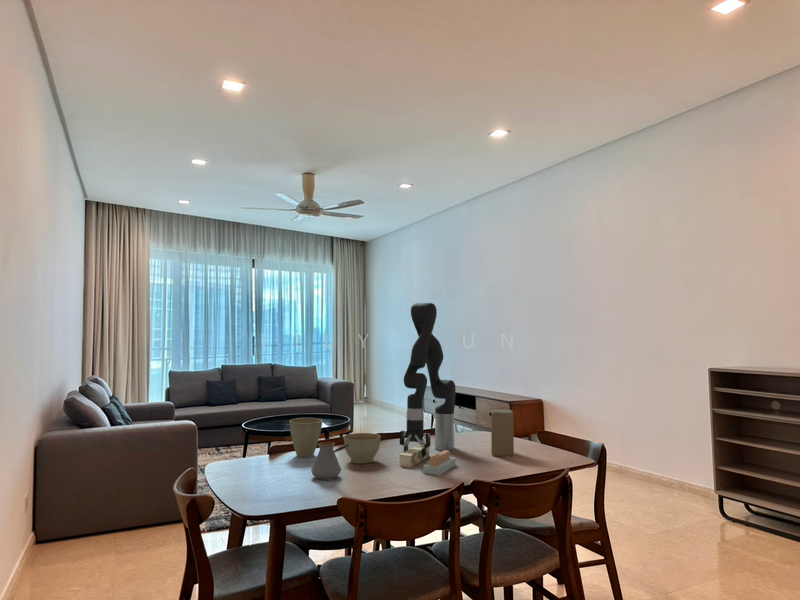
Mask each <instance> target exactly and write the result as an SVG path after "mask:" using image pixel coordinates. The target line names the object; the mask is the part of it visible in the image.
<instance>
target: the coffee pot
mask: <svg viewBox="0 0 800 600" xmlns="http://www.w3.org/2000/svg"><path fill="white" fill-rule="evenodd" d="M335 445H336V443H335V442H332V441H331V442H330V441H323V442H318V444H317V447H318V448H319V451H318V452H317V455H316V457H315V460H314V463H313V465H312V467H311V473H312V476H314V477H315V479H316V478H317V480H319V479H322V480H321V481H330V480H329V479H332V480H334V478H335V479H336V478H337V477H338V476H339V475H340V473H341V471H342V468H341V465H340V463H339V460H338V457H337V456H336V453H337V452H340V451H343V450H344V449H345V450H346V447H348V446H349V445H342V446H339V447H337V448H336V449H334V448H335V447H334V446H335ZM350 448H351V447H350ZM349 450H350V449H349Z"/></svg>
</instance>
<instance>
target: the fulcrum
mask: <svg viewBox="0 0 800 600" xmlns="http://www.w3.org/2000/svg"><path fill="white" fill-rule="evenodd" d="M450 451H451V450H441V451H440V452H438V453H436V454H435V455H432V456H431V457H429V462H427V463H425V464H423V466H422V467H423V468H422V470H423V473H422V474H425V473H427V475H432V474H434V475H433V476H441V475H443V474H444V473H446V472H447V471H449V470H451V469H452V468H454V467H455V466H456V457H451V456H450V454H451V452H450ZM442 473H443V474H442Z"/></svg>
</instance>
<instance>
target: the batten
mask: <svg viewBox="0 0 800 600" xmlns="http://www.w3.org/2000/svg"><path fill="white" fill-rule="evenodd" d="M428 456H429V457H430V447H428V448H426V456H425V457H422V447H421V445H420V444H418V445H415V446H414V447H412V448H409V449H408V451H406V452H404V451H403V452H402V453H400V454H399V467H404V466H406V467H405V468H411V466H412V467H414V466H415V465H417V464H418V463H420V462H422V461H423V460H425V459H427V458H428ZM426 457H427V458H426ZM421 460H422V461H421ZM416 463H417V464H416Z"/></svg>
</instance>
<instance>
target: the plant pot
mask: <svg viewBox="0 0 800 600" xmlns="http://www.w3.org/2000/svg"><path fill="white" fill-rule="evenodd" d="M323 421H324V420H323V419H321V418H315V417H298V418H297V417H296V418H293V419H290V420H289V428H290V436H291V440H292V445H293V448H294V451H295V455H296V457H298V458H303V457H306V458H311V457H312V458H313V456H314V455H315V453H316V449H317V447H318V444H319V440H320V436H321V432H322V427H323Z"/></svg>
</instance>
